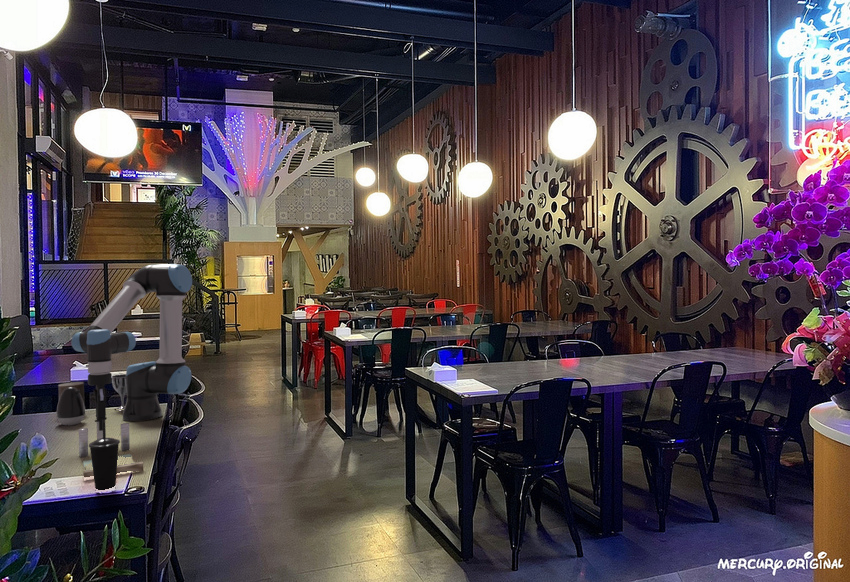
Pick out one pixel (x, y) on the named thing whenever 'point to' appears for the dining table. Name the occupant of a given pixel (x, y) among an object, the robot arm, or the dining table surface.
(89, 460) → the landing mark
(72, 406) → the black tapered dome
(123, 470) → the stopper wall
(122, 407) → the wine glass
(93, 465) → the drinking cup
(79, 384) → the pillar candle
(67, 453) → the dining table surface
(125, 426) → the post
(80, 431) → the post
